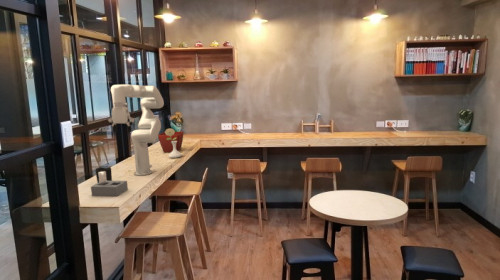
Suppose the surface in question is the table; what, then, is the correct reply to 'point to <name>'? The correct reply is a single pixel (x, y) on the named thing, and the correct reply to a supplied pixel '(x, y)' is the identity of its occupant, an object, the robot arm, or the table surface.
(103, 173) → the steel pin
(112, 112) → the robot arm
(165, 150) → the plant pot
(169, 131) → the flower in vase
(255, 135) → the table surface
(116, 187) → the hole block
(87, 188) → the table surface
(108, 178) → the pen holder
